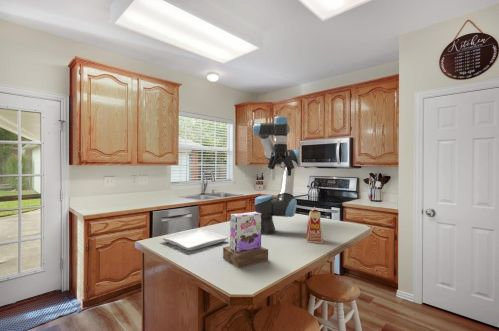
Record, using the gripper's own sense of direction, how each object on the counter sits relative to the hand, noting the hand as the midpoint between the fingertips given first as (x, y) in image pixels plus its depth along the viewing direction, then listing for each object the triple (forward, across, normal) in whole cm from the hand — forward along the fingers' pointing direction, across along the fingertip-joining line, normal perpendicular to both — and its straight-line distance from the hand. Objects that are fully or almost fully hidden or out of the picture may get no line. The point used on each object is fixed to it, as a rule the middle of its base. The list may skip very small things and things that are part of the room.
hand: (280, 180), depth 152 cm
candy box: (+30, +13, -32) cm, 46 cm away
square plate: (+35, -24, -42) cm, 60 cm away
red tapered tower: (+35, +10, +18) cm, 41 cm away
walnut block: (+35, +13, -32) cm, 49 cm away
